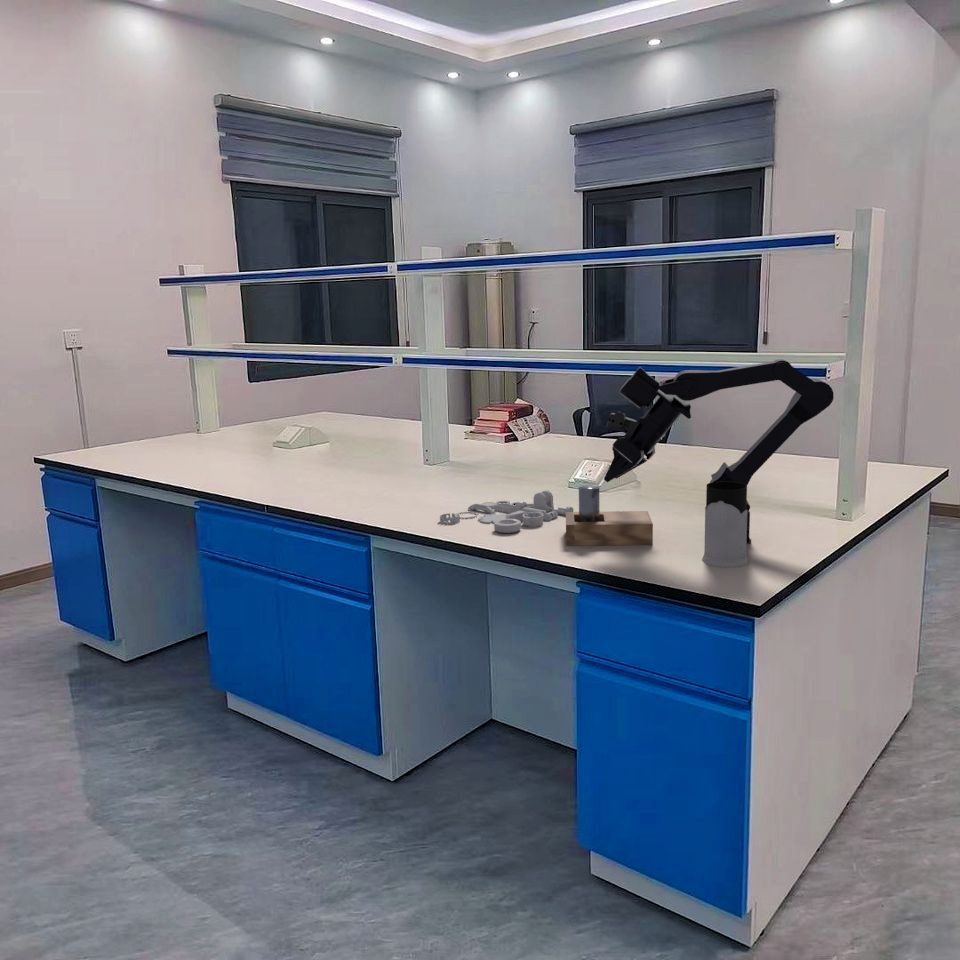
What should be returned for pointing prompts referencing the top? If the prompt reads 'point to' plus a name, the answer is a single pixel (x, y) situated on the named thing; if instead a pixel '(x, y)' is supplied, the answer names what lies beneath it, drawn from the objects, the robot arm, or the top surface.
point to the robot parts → (513, 513)
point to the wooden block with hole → (610, 529)
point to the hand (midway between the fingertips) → (610, 478)
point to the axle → (589, 504)
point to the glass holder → (725, 524)
